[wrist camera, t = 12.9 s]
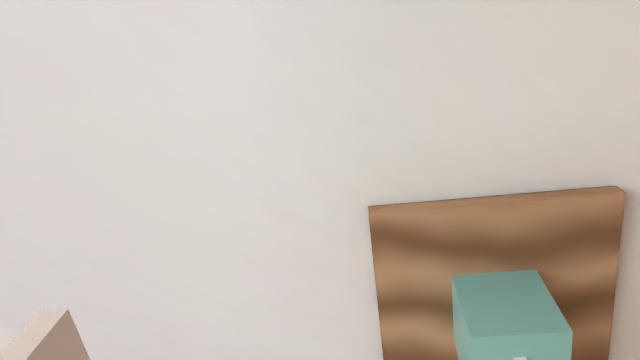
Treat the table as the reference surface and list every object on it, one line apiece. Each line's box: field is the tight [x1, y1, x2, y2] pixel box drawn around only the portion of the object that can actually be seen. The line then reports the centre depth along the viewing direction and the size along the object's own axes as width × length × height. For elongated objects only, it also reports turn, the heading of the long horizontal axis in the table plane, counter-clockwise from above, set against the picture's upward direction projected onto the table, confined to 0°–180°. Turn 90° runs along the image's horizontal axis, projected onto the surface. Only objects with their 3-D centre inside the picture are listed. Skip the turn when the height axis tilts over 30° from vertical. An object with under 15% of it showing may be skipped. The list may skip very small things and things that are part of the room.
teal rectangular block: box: [451, 270, 573, 360], centre depth 40 cm, size 7×7×9 cm
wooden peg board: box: [368, 186, 625, 360], centre depth 42 cm, size 20×20×7 cm
